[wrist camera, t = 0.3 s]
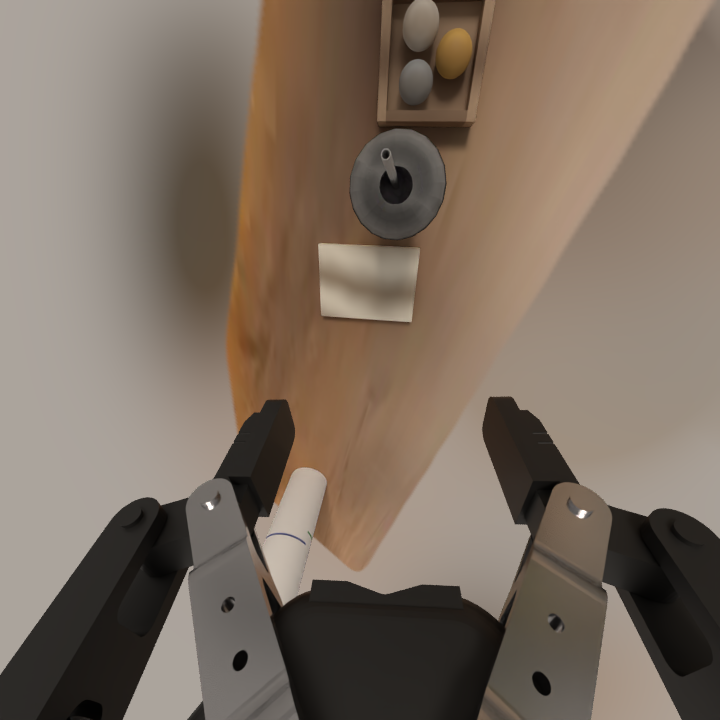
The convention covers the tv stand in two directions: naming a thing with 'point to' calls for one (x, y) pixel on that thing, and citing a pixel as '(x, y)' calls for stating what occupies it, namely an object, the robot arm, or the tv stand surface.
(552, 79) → the tv stand surface
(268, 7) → the tv stand surface
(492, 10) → the marble tray
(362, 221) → the beverage cup
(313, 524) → the cylindrical container
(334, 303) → the ash board
